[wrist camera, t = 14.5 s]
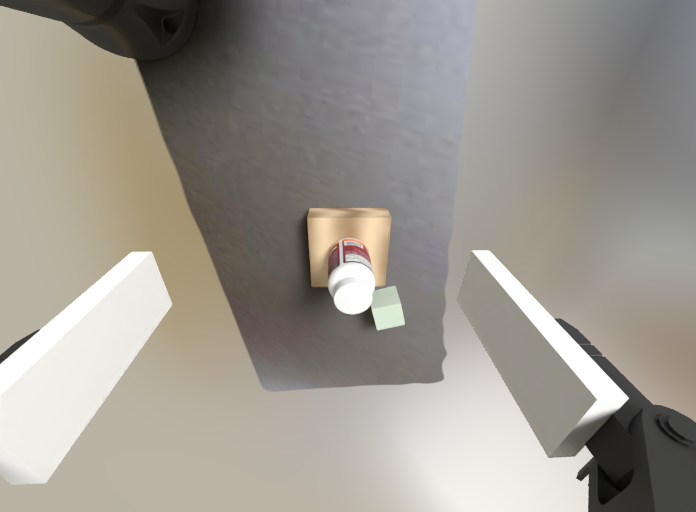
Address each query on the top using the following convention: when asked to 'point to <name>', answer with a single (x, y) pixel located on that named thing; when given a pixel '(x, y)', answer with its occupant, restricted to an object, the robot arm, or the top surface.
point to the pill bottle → (350, 276)
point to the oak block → (348, 224)
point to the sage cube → (387, 308)
